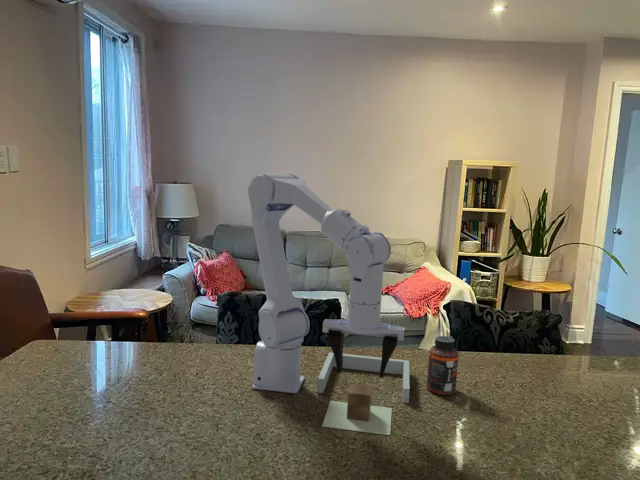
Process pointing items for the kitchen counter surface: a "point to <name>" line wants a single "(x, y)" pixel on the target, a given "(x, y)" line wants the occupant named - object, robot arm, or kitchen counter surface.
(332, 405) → the mat
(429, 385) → the supplement bottle
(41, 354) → the kitchen counter surface
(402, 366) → the u-shaped barrier
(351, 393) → the block
